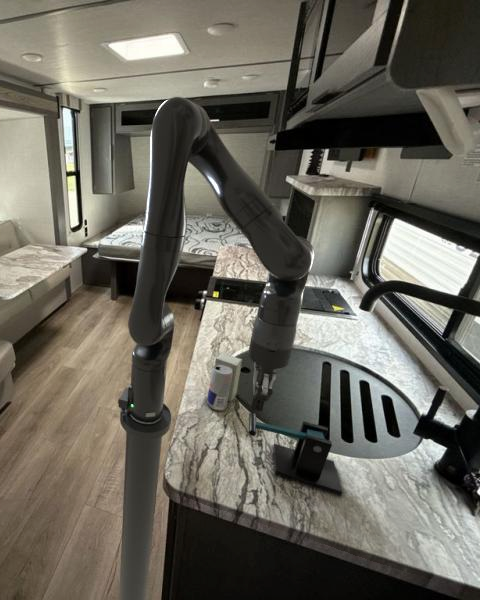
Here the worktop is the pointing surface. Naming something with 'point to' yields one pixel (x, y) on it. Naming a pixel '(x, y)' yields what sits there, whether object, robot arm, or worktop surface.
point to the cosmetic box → (236, 367)
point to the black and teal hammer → (279, 429)
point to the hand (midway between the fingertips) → (256, 408)
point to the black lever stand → (308, 461)
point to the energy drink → (219, 386)
